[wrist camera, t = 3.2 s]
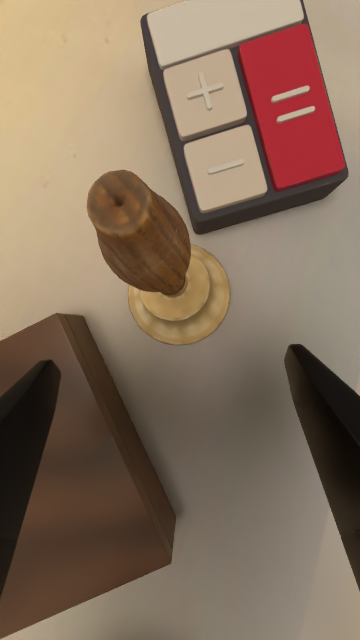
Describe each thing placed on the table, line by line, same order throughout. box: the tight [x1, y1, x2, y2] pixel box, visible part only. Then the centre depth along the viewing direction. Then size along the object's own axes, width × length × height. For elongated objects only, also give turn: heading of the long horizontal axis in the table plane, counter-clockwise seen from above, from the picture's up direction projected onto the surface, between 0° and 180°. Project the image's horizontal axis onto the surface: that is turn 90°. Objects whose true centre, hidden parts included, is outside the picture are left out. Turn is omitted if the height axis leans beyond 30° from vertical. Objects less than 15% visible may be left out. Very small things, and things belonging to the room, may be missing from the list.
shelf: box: [0, 313, 176, 639], centre depth 19 cm, size 18×14×4 cm
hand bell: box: [87, 170, 230, 345], centre depth 13 cm, size 8×8×16 cm
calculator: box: [141, 0, 348, 234], centre depth 19 cm, size 11×4×15 cm
